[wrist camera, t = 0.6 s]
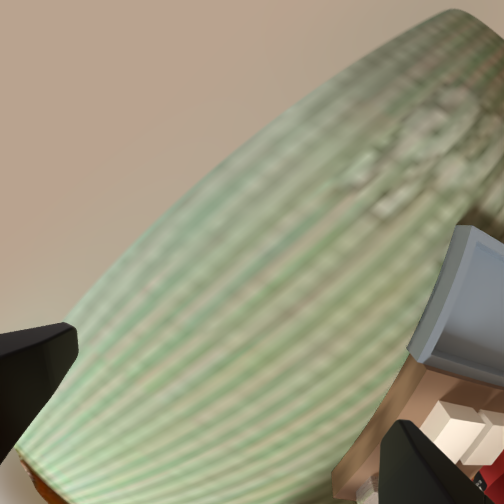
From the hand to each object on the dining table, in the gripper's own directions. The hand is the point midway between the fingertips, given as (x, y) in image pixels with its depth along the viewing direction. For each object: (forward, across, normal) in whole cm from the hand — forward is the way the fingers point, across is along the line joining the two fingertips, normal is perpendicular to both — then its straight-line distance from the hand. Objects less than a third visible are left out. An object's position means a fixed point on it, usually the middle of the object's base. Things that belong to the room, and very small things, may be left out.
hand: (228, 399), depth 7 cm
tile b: (+9, -16, +8) cm, 20 cm away
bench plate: (+12, -19, +12) cm, 25 cm away
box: (+14, -20, 0) cm, 24 cm away
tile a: (+9, -21, +9) cm, 24 cm away
